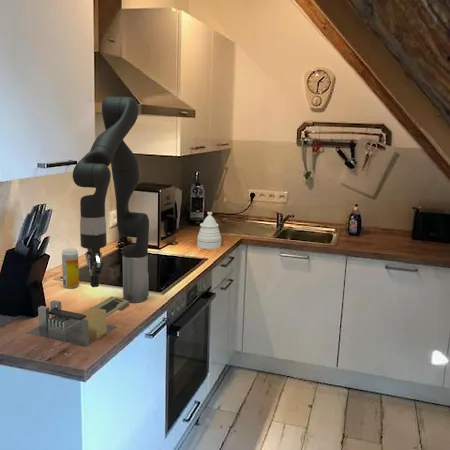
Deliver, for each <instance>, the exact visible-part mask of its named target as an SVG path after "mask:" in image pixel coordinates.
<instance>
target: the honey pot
mask: <svg viewBox="0 0 450 450" xmlns="http://www.w3.org/2000/svg"><path fill="white" fill-rule="evenodd" d="M206 213H207V216H206V217H205V218H204V220H203V222H201V223H200V224H199V226H200V229H199V230H198V231H199V232H198V234H197V242H196V246H197V247H198V248H200V249H203V250H204V249H205V250H215V249H219V248H221V247H222V236H221V232H220V229H219V224H218V223H217V221H216V219H215V218H214V216H212V215H213V212H212V211H207V212H206Z"/></svg>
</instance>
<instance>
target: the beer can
mask: <svg viewBox="0 0 450 450" xmlns="http://www.w3.org/2000/svg"><path fill="white" fill-rule="evenodd" d="M78 252H79V251H78V250H77V249H76V248H66V249H63V250H62V252H61V266H62V285H63V287H64V288H65V289H68V290H69V289H75V288H77V287H78V286H79V285H80V272H79V253H78Z"/></svg>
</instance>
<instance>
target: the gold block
mask: <svg viewBox="0 0 450 450" xmlns="http://www.w3.org/2000/svg"><path fill="white" fill-rule="evenodd" d="M92 307H93V306H90V307H89V308H87V309H84V310H83V311H82V312H81V314H82V315H86V317H87V320H88V330H89V338H92V339H98V338H100V337H101V338H103V337H104V336H106V335H107V334H108V333H107V331H106V325H107V317H106V310H104V309H99V308H98V309H97V308H92ZM106 333H107V334H106ZM105 334H106V335H105ZM103 335H104V336H103ZM102 336H103V337H102ZM101 338H100V339H101ZM98 340H99V339H98Z"/></svg>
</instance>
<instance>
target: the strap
mask: <svg viewBox="0 0 450 450" xmlns="http://www.w3.org/2000/svg"><path fill="white" fill-rule="evenodd" d="M49 314H50V316H51V315H56V316H60V317H65V318H70V319H75V320H80V321H81V320H82V319H83V320H85V319H86V318H87V315H82V313H79V312H74V311H70V310H66V311H65V310H64V309H61V310H60V309H55V308H51V307H50V308H49Z"/></svg>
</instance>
